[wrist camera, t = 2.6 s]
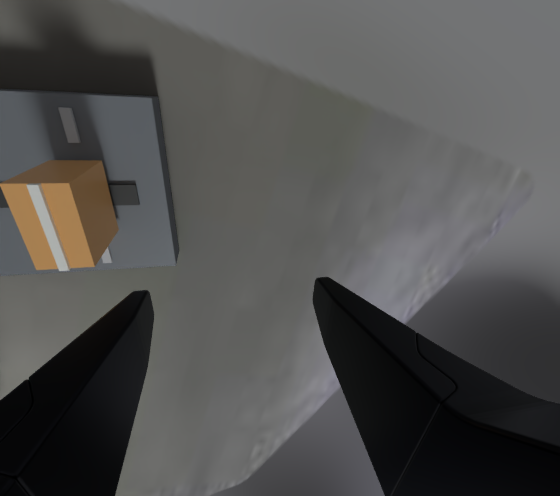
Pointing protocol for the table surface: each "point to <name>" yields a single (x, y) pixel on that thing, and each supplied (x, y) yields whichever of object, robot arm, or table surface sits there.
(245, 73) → the table surface
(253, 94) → the table surface
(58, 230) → the fader knob
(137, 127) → the fader panel
